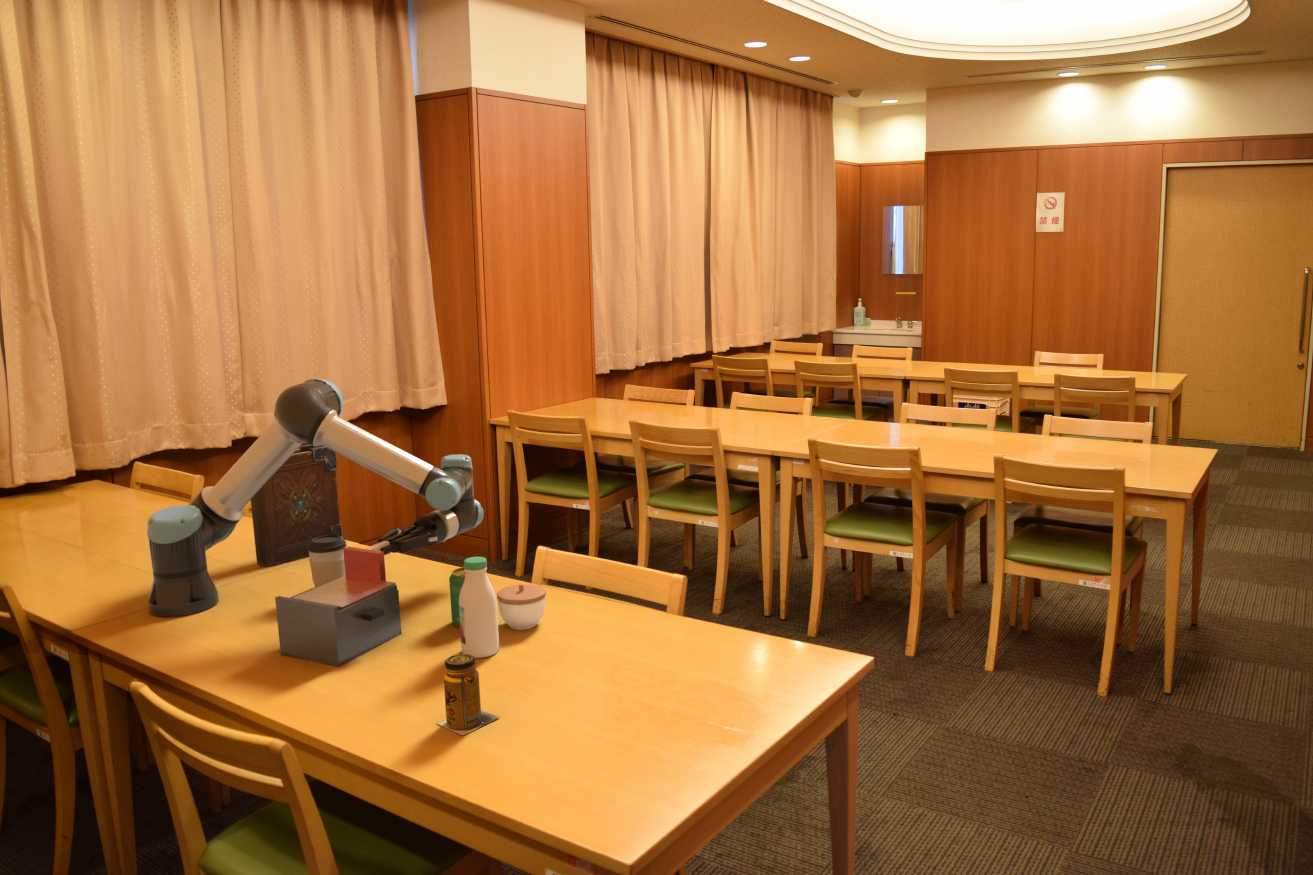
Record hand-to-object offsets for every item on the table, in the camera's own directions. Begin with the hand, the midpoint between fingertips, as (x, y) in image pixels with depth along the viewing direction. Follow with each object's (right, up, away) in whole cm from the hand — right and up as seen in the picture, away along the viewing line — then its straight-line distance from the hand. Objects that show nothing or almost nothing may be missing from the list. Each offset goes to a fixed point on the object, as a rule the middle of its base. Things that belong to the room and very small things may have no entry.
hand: (367, 555), depth 213 cm
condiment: (+30, -25, -41) cm, 57 cm away
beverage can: (+22, -16, +6) cm, 27 cm away
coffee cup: (-16, -13, +24) cm, 32 cm away
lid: (-3, -8, -6) cm, 10 cm away
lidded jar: (+34, -16, +3) cm, 37 cm away
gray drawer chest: (-4, -18, -5) cm, 19 cm away
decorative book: (-36, -7, +58) cm, 69 cm away
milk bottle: (+27, -19, -11) cm, 35 cm away
